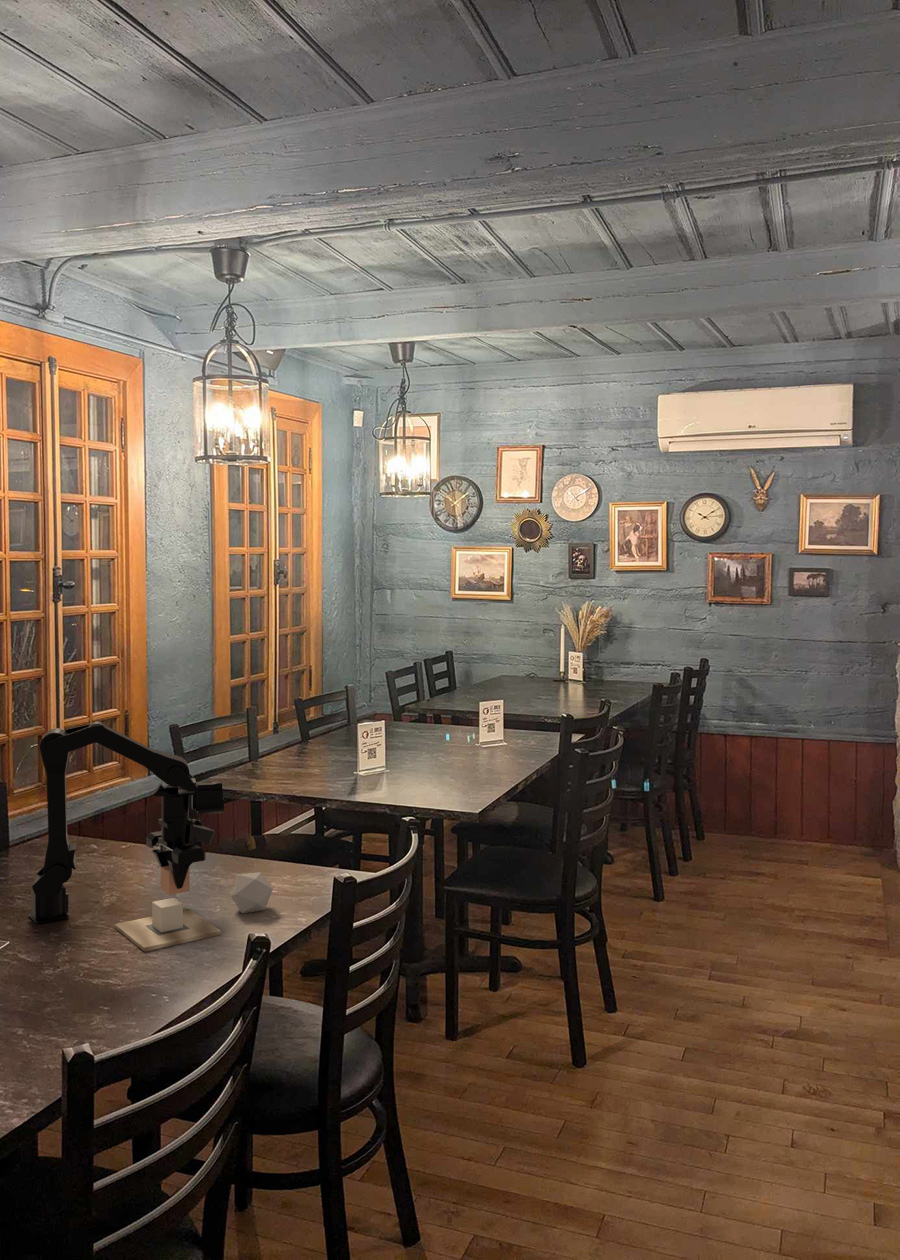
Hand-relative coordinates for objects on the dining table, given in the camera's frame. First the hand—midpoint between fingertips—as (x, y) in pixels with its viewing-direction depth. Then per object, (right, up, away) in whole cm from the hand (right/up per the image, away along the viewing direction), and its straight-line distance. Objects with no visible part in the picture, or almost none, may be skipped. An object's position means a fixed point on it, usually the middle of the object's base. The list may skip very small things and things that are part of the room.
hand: (175, 885), depth 221 cm
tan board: (+2, -6, -14) cm, 16 cm away
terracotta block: (0, -1, 0) cm, 1 cm away
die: (+17, -5, 0) cm, 18 cm away
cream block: (+2, -5, -14) cm, 15 cm away
